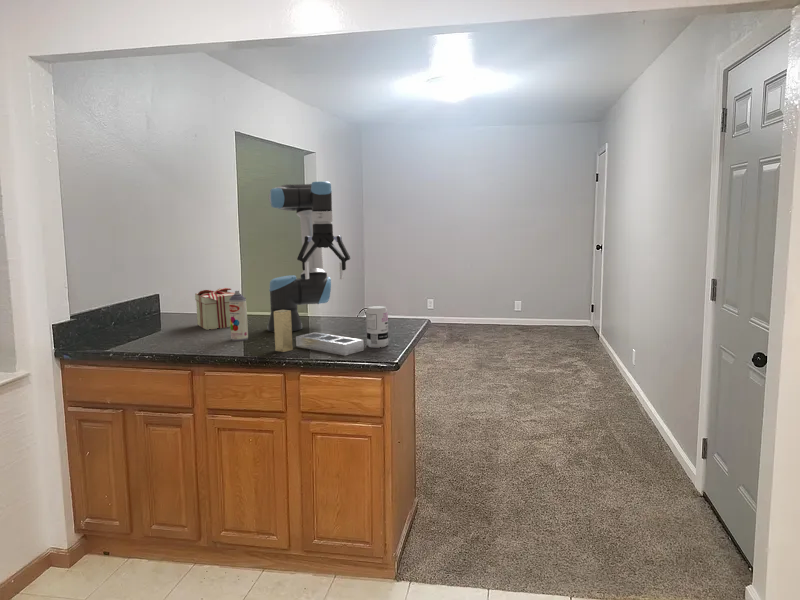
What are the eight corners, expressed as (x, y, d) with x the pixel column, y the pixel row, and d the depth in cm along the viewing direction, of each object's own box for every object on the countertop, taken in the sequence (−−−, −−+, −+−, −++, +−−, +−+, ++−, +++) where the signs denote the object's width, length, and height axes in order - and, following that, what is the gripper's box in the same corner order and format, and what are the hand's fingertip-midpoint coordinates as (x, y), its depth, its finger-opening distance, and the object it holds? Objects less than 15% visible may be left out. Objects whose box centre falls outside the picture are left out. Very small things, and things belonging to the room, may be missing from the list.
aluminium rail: (296, 346, 242) (295, 336, 242) (315, 341, 250) (315, 332, 250) (345, 355, 226) (344, 344, 226) (363, 350, 234) (363, 339, 233)
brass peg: (275, 350, 236) (273, 311, 234) (284, 348, 240) (282, 309, 237) (283, 352, 233) (281, 312, 231) (292, 349, 237) (290, 310, 235)
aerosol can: (227, 340, 257) (224, 291, 254) (239, 337, 263) (236, 289, 260) (240, 341, 254) (237, 292, 251) (251, 338, 259) (249, 290, 256)
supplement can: (366, 343, 245) (365, 305, 243) (387, 343, 246) (386, 305, 244) (367, 348, 237) (366, 309, 235) (389, 347, 238) (388, 308, 236)
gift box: (210, 331, 276) (207, 292, 273) (194, 326, 290) (191, 288, 287) (246, 326, 286) (244, 289, 284) (229, 321, 300) (227, 285, 298)
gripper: (287, 223, 236) (290, 280, 239) (352, 222, 232) (354, 280, 235) (293, 223, 243) (296, 277, 246) (357, 222, 239) (358, 277, 242)
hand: (324, 279), depth 241 cm, fingers open, 13 cm apart
